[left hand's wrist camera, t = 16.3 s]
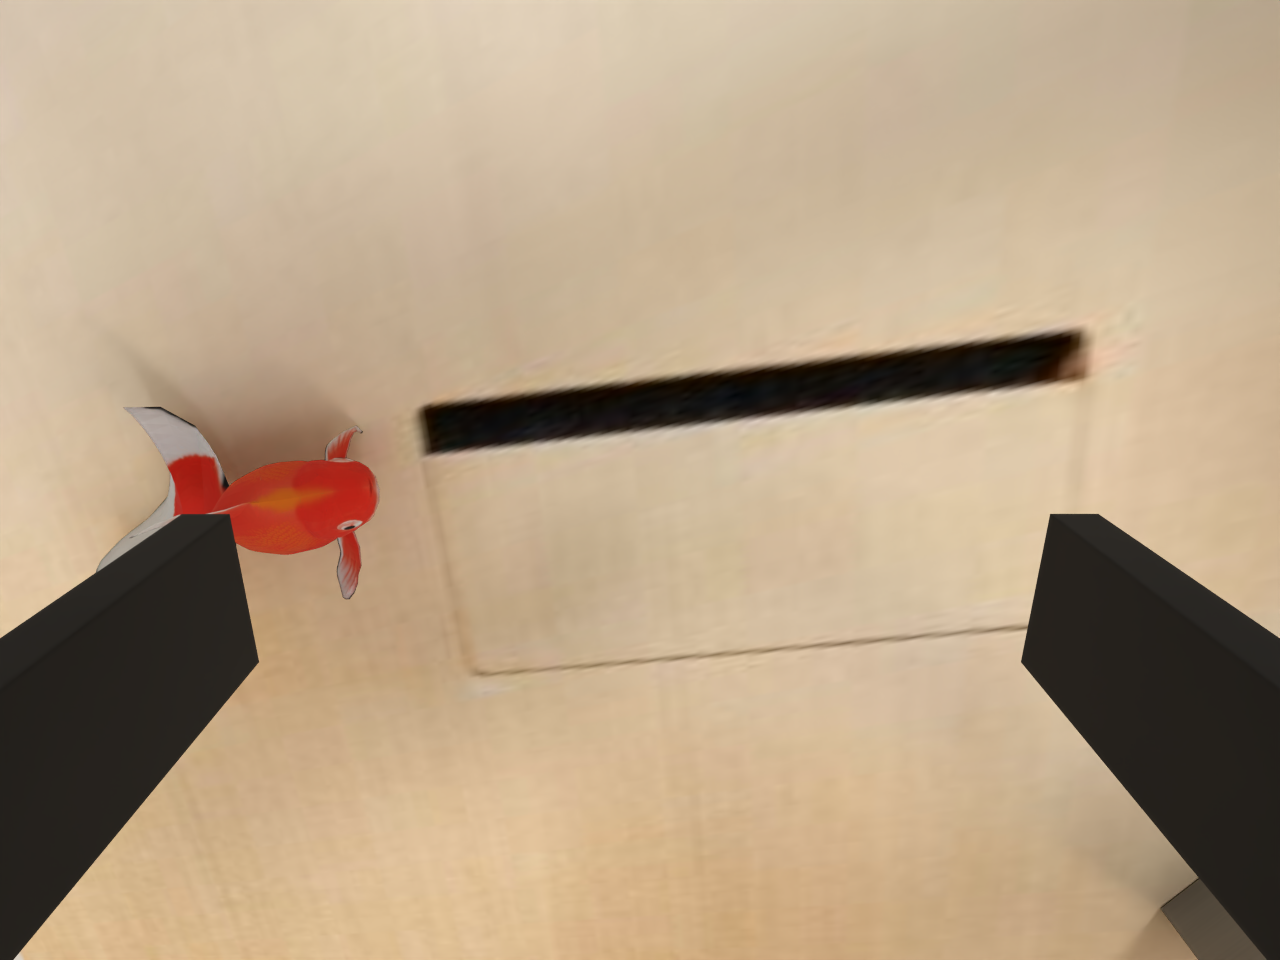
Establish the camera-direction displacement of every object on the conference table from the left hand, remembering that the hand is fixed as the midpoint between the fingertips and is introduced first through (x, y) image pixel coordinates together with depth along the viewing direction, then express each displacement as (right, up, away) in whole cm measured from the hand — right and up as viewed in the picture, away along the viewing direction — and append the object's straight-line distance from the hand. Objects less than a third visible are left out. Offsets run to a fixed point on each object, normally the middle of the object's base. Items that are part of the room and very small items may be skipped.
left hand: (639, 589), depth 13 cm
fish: (-19, +1, +26) cm, 32 cm away
